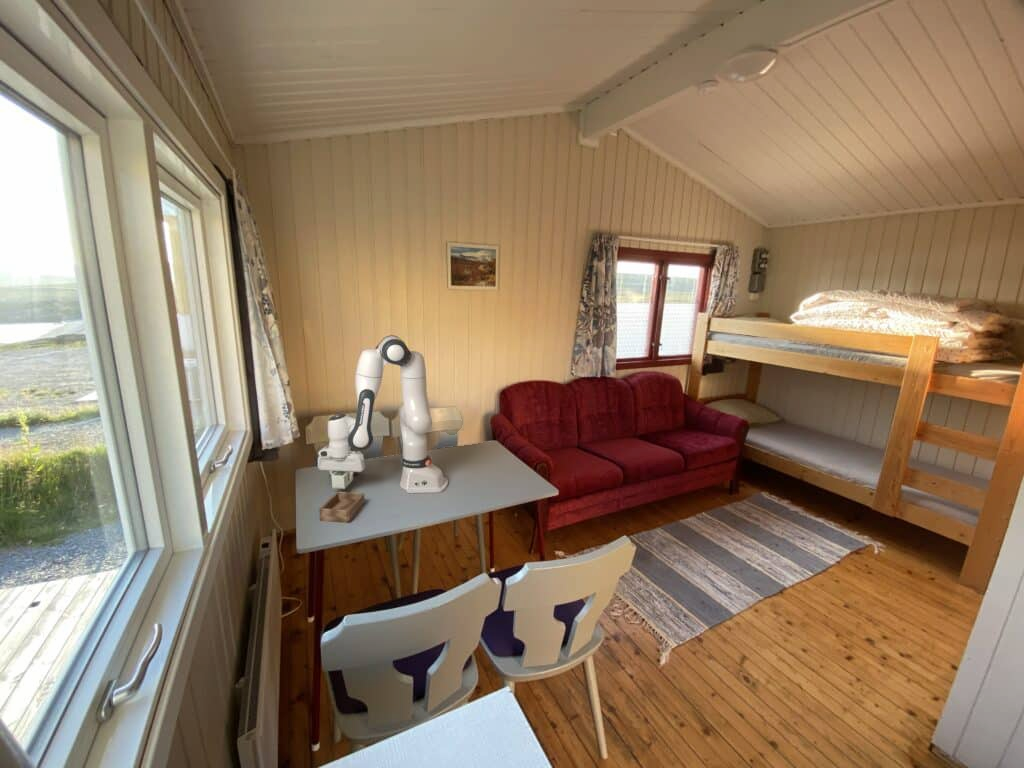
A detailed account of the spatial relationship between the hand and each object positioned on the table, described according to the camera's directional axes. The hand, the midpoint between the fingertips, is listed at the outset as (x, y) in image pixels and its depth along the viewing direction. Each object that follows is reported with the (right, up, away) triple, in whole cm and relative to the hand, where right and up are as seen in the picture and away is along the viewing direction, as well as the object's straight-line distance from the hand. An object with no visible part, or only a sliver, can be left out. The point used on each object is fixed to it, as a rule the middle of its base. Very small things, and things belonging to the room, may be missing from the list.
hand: (342, 479), depth 192 cm
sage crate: (0, -2, +1) cm, 2 cm away
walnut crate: (+6, -10, -15) cm, 19 cm away
